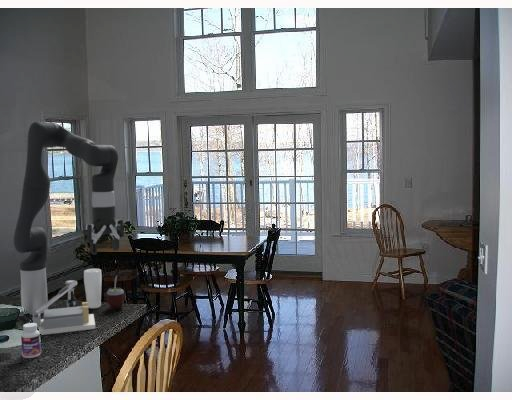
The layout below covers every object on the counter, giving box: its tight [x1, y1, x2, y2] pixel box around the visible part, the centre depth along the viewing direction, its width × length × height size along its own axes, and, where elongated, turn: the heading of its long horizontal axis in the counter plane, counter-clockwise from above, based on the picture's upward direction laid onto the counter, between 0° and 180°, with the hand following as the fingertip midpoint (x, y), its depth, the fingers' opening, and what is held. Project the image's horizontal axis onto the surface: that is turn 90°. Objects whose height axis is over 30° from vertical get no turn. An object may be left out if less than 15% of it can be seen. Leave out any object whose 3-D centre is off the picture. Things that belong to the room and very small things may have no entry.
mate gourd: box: [105, 274, 126, 312], centre depth 215 cm, size 8×8×15 cm
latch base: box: [32, 301, 96, 336], centre depth 195 cm, size 22×13×7 cm, turn 109°
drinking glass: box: [83, 268, 103, 309], centre depth 218 cm, size 7×7×15 cm
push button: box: [63, 279, 78, 308], centre depth 220 cm, size 7×5×10 cm
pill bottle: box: [20, 322, 42, 359], centre depth 169 cm, size 5×5×10 cm
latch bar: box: [34, 280, 78, 317], centre depth 194 cm, size 18×4×2 cm
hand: (105, 252), depth 185 cm, fingers open, 8 cm apart
